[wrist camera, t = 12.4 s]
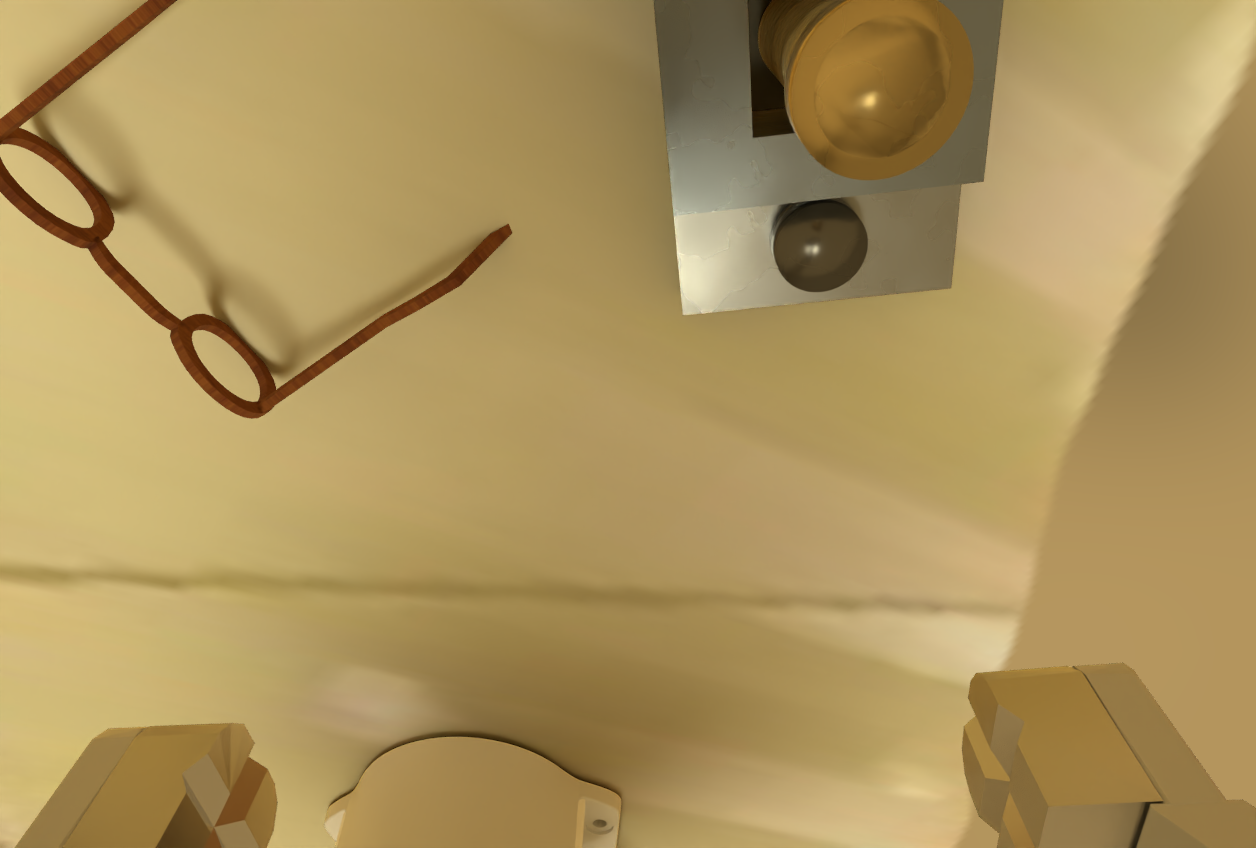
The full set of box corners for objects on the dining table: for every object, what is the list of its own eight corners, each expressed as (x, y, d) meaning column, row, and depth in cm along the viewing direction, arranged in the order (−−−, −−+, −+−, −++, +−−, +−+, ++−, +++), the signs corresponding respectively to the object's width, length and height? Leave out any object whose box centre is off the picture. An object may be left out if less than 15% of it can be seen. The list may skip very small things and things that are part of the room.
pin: (860, 89, 28) (964, 169, 19) (745, 103, 29) (792, 189, 19) (863, -42, 26) (983, -23, 17) (740, -25, 27) (790, 2, 17)
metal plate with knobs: (935, 268, 32) (981, 324, 27) (681, 295, 32) (685, 353, 28) (986, -347, 22) (1069, -414, 18) (627, -289, 23) (622, -339, 19)
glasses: (30, 121, 30) (-73, 154, 26) (280, -103, 26) (208, -109, 22) (284, 384, 36) (235, 446, 31) (521, 232, 32) (501, 279, 28)
